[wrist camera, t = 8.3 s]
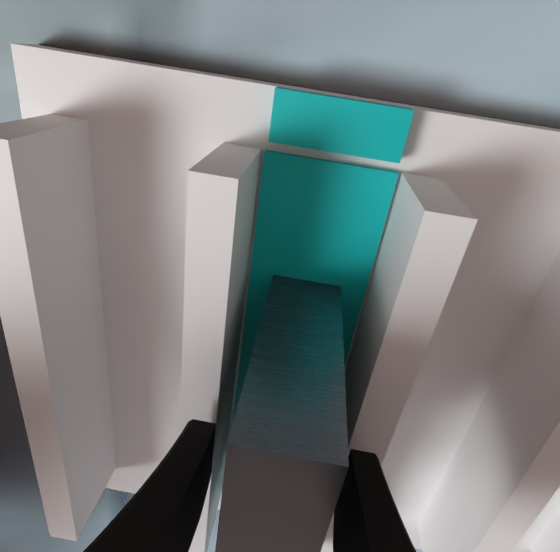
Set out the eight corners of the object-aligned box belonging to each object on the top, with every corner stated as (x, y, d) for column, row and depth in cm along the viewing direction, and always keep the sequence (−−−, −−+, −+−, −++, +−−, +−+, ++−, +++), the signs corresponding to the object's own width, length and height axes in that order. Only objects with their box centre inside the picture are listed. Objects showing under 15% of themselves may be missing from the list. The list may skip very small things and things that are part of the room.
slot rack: (850, 176, 10) (1121, 237, 7) (546, 551, 18) (597, 667, 15) (36, 44, 11) (-104, 38, 7) (89, 462, 19) (34, 554, 15)
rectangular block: (341, 286, 12) (348, 466, 7) (297, 465, 16) (280, 670, 10) (273, 274, 12) (227, 444, 7) (246, 455, 16) (203, 655, 11)
